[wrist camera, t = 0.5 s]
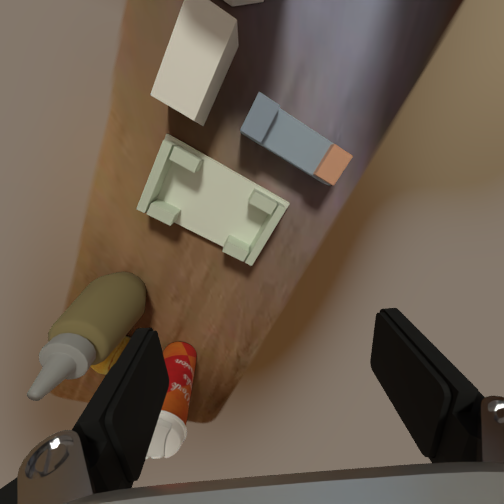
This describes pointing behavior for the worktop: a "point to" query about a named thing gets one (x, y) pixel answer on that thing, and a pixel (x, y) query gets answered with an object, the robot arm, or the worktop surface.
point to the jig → (210, 200)
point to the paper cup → (174, 401)
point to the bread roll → (111, 357)
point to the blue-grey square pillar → (294, 141)
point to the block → (197, 59)
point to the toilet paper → (241, 2)
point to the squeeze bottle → (89, 329)
